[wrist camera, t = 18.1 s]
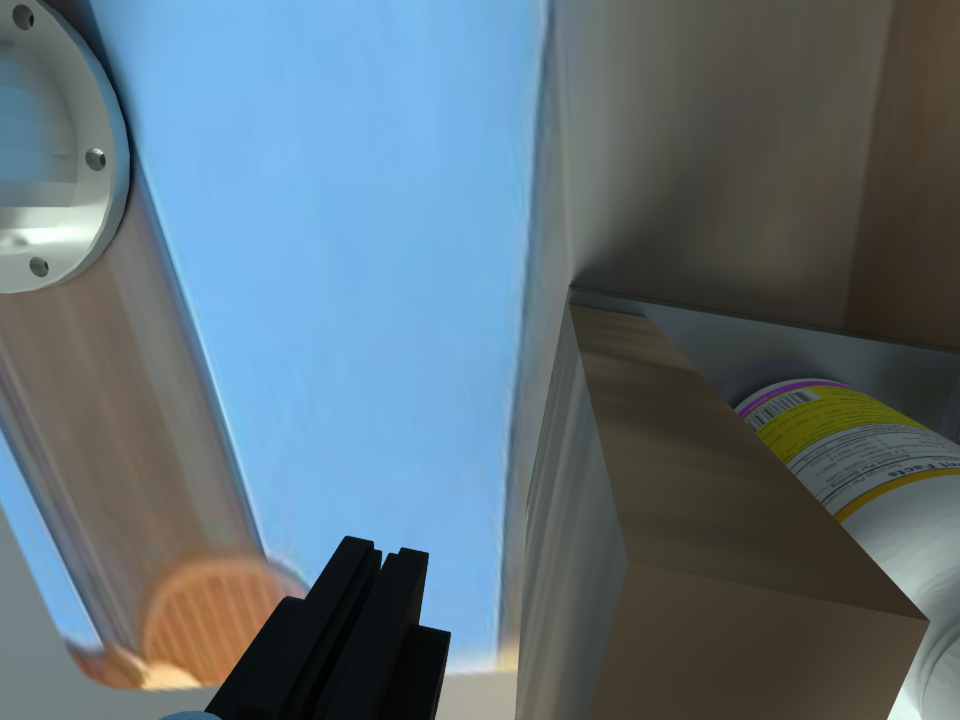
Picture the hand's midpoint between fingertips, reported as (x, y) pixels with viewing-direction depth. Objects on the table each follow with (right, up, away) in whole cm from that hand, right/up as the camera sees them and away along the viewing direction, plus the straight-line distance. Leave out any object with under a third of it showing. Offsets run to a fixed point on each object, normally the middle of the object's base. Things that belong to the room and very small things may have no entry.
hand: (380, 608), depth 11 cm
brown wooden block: (+6, +2, +12) cm, 13 cm away
